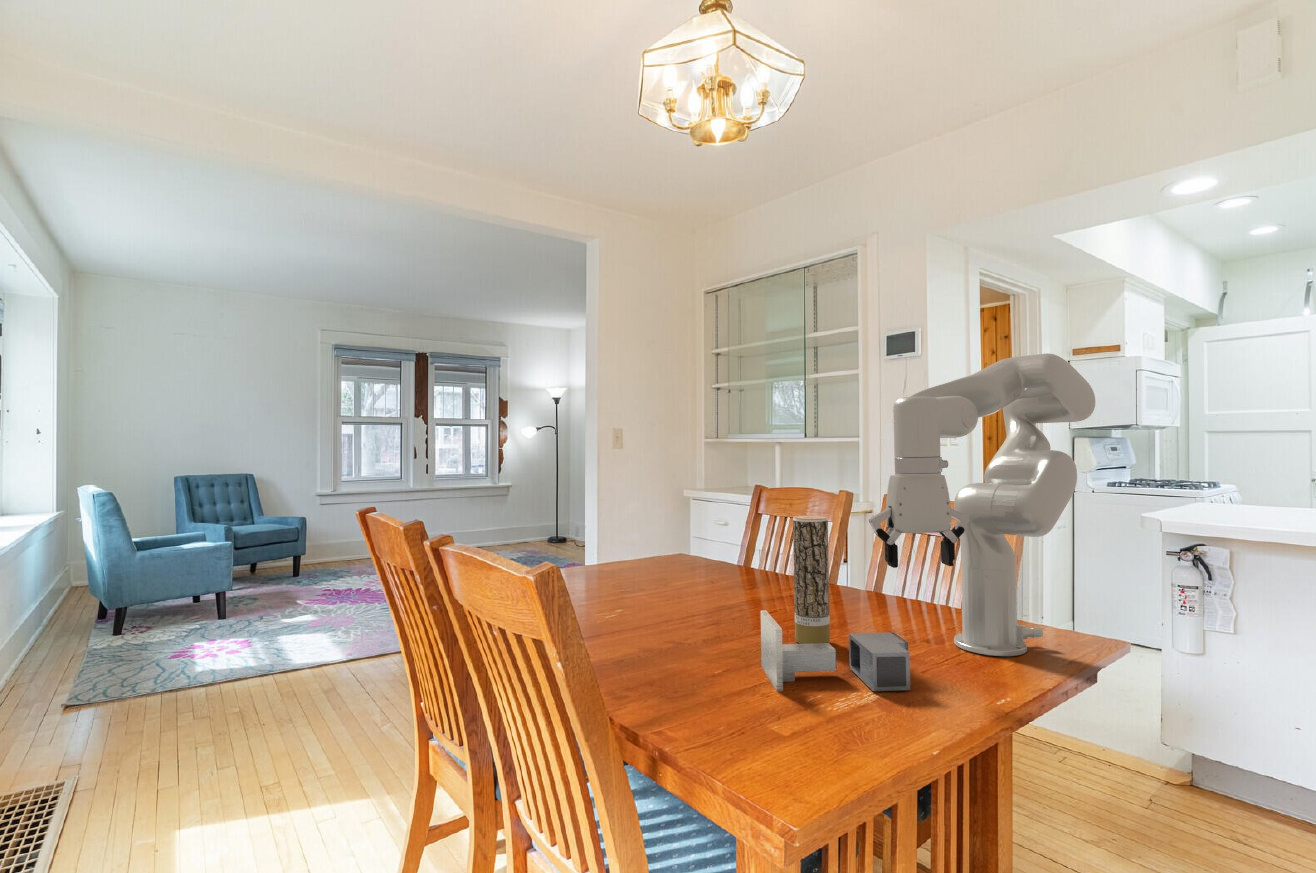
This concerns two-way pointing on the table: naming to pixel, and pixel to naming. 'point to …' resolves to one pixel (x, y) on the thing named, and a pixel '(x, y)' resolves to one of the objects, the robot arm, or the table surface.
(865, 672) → the elbow
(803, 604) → the paper tube
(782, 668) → the grey t-shaped bracket
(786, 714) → the table surface
